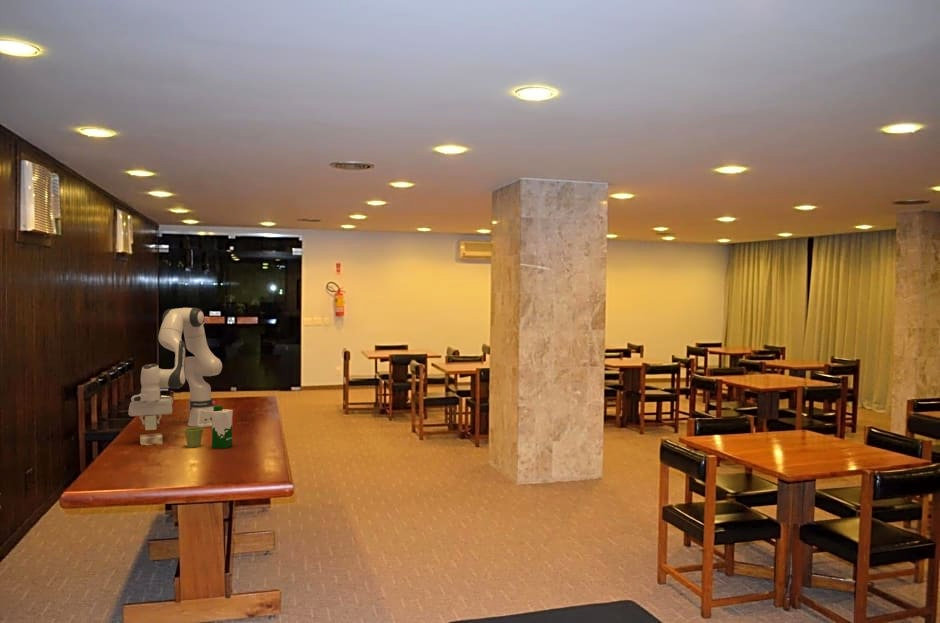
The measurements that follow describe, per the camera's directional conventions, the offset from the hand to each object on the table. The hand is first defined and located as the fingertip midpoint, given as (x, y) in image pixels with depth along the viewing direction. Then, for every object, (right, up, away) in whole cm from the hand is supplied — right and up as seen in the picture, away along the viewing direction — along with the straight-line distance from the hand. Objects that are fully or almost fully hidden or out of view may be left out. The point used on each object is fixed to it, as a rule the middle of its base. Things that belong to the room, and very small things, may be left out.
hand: (150, 423), depth 357 cm
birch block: (0, -10, 0) cm, 10 cm away
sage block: (0, -3, 0) cm, 3 cm away
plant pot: (+25, -10, -7) cm, 28 cm away
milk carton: (+39, -10, -9) cm, 41 cm away
